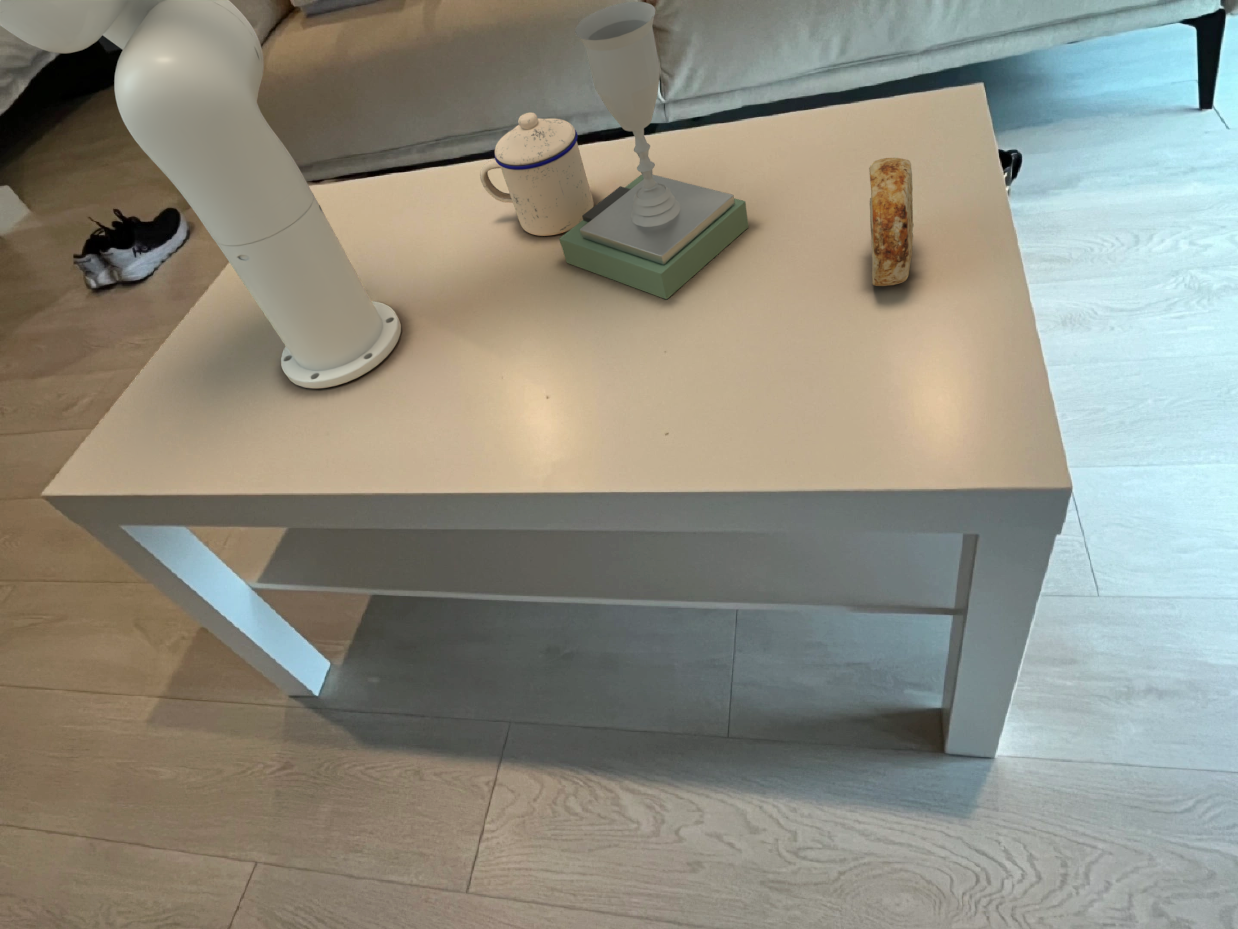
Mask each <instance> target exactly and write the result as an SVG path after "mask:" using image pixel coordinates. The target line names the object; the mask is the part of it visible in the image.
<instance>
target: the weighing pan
mask: <svg viewBox="0 0 1238 929" xmlns="http://www.w3.org/2000/svg"><path fill="white" fill-rule="evenodd" d="M652 177H653V179H654V181H655V182H657V183H659V184H663V185H665V186H666V187H667V188H669V189H670V191H671V193H672V194H673V195H674V197H675V199H676V200H677V201H678V202H679V204H680V208H681V210H680V212H679V214H678V215H677V216H676V217H675V218H674V219H672V220H670V221H669V222H667V223H664V224H662V225H658V226H653V227H643V226H639V225H636V224H635V223H633V222H632V220H631V212H632V205H633V203H634V196H635V194H636V193H637V191H638V190H639V189H640V188H641V187H642V186H643V185H644V179H643V180H642V181H641V182H640V183H638V184H637V185H636V186H634V187H633V188H632V189H631V190H629V191H628V192H627V193H626V194H624V195H623V196H622V197H620V198H619V199H618V200H617V201H615V202H614V203H613V204H611V205H610V206H609V207H608V208H606V209H605V210H604V211H603V212H601V213H600V214H599V215H597V216H596V217H595V218H594V219H592V220H591V221H590V222H589V223H587V224H586V225H585V226H583V227H582V228H581V229H580V232H581V235H582V237H583V238H585V239H588V240H591V241H594V242H597V243H600V244H603V245H606V246H609V247H612V248H615V249H618V250H621V251H624V252H627V253H630V254H633V255H636V256H639V257H642V258H645V259H648V260H651V261H654V262H657V263H660V264H663V265H664V264H665V263H666V262H667V261H669V260H670V259H671V258H672V257H673V256H674V255H676V254H677V253H678V252H679V251H680V250H681V249H683V248H684V247H685V246H686V245H687V244H688V243H690V242H691V241H692V240H693V239H694V238H695V237H697V236H698V235H699V234H700V233H701V232H702V231H704V230H705V229H706V228H707V227H708V226H709V225H711V224H712V223H713V222H714V221H715V220H716V219H718V218H719V217H720V216H721V215H722V214H723V213H725V212H726V211H727V210H728V209H729V208H730V207H732V206H733V205H734V204H735V201H734V198H735V195H734V194H731V193H727V192H723V191H720V190H716V189H712V188H707V187H703V186H700V185H696V184H692V183H689V182H684V181H681V180H676V179H674V178H673V179H672V178H668V177H665V176H660V175H657V174H653V173H652Z"/></svg>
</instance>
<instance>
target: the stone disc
mask: <svg viewBox="0 0 1238 929" xmlns="http://www.w3.org/2000/svg"><path fill="white" fill-rule="evenodd" d="M868 169H869V172H868V173H869V183H870V198H869V224H870V226H869V227H870V242H871V247H870V248H871V262H872V263H871V266H872V269H871V282H872V285H873V286H876V287H887V286H895V285H899V284H902V283H904V282H906V281H907V279H908V277H909V276H910V268H911V262H912V261H911V260H912V256H913V245H914V244H913V241H914V208H913V206H914V205H913V204H914V203H913V189H914V188H913V171H912V163H911V160H909V159H905V158H902V157H885V158H884V157H883V158H880V159H876V160H874V161H873V162H872V163H871V165H870V166H869V168H868Z"/></svg>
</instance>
